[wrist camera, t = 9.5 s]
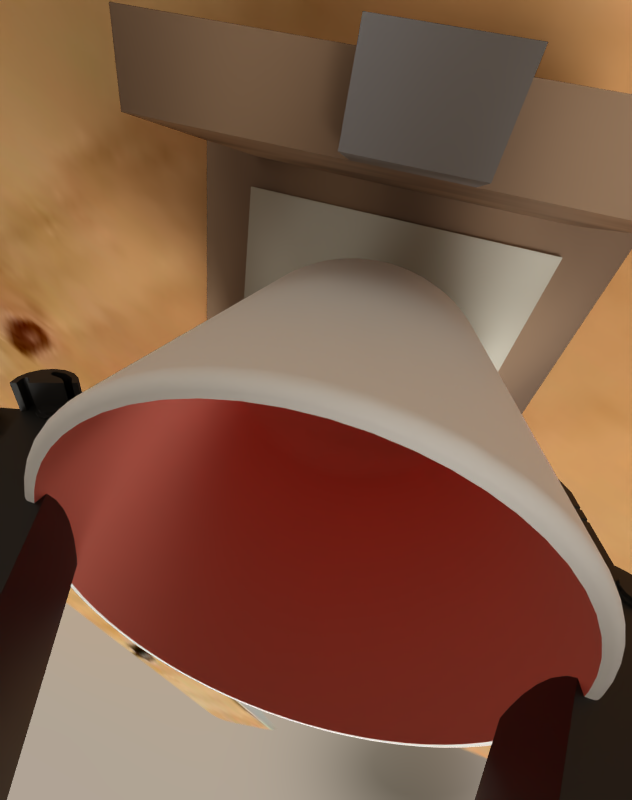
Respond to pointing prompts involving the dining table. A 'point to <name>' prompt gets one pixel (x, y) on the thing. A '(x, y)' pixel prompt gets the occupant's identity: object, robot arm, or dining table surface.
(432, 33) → the holder
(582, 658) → the cup
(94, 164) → the dining table surface
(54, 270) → the dining table surface
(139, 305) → the dining table surface
